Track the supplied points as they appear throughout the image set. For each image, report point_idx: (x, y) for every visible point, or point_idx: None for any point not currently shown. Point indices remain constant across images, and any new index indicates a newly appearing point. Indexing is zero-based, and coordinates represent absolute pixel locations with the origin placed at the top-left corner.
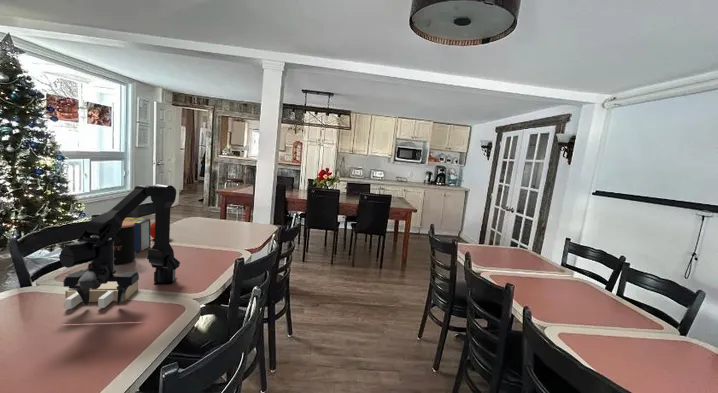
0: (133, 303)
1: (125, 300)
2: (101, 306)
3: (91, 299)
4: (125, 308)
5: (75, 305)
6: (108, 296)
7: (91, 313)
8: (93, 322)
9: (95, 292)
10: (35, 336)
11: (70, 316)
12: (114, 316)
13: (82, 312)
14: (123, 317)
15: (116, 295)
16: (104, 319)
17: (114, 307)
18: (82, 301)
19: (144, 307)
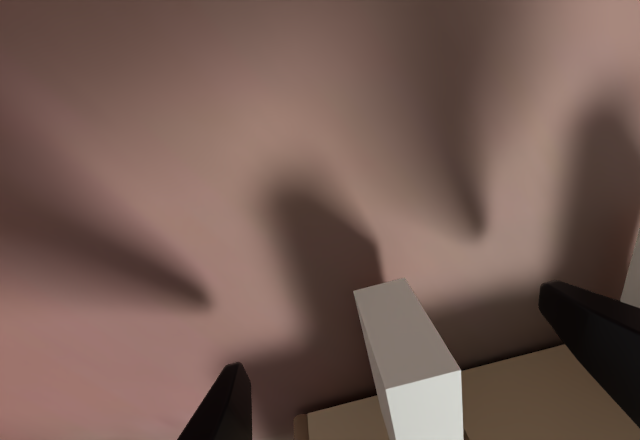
0: None
1: (294, 423)
2: (379, 296)
3: (550, 372)
4: (197, 341)
5: (631, 272)
6: (393, 436)
7: (421, 208)
8: (246, 15)
9: None
10: None
11: (579, 115)
12: (145, 197)
13: (511, 208)
14: (22, 196)
15: None
16: (186, 114)
17: (305, 333)
18: None
19: (51, 387)
